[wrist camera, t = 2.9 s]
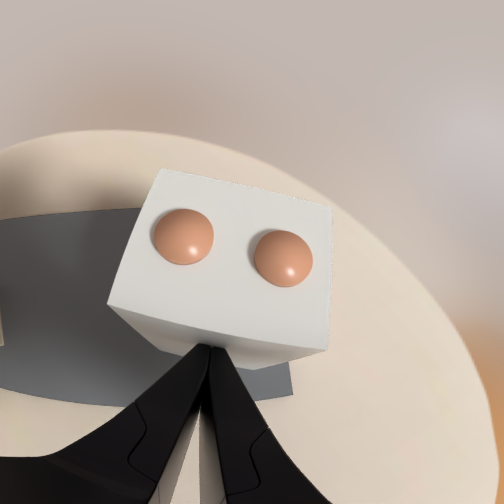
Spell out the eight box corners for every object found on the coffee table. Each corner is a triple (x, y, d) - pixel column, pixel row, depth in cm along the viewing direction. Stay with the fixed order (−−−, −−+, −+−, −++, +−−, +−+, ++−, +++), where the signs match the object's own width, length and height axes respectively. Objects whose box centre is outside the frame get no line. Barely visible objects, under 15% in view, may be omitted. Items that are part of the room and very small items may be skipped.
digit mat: (-56, 367, 8) (-60, 366, 8) (-35, 229, 14) (-39, 225, 13) (289, 394, 14) (293, 394, 13) (260, 210, 19) (262, 205, 19)
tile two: (253, 369, 14) (331, 348, 6) (160, 350, 13) (104, 301, 5) (264, 300, 16) (335, 203, 8) (177, 281, 15) (159, 163, 7)
